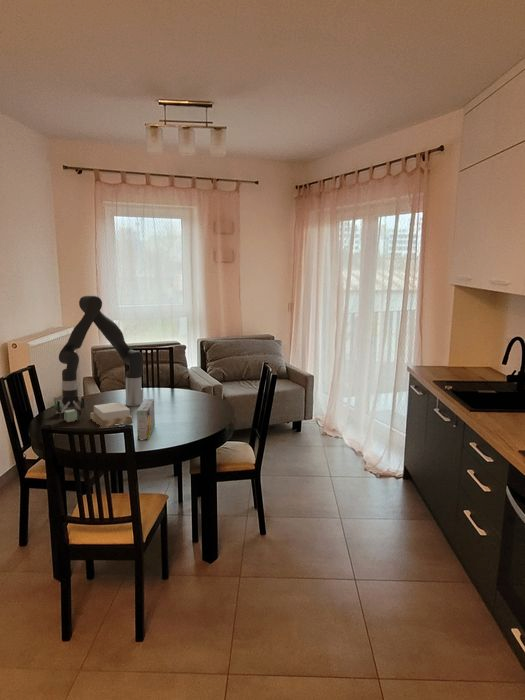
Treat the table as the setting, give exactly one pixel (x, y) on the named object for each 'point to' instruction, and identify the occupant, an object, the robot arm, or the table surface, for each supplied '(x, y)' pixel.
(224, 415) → the table surface
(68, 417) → the sage block
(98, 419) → the tower bottom slab
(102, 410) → the tower top slab
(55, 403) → the food container
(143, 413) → the snack box
